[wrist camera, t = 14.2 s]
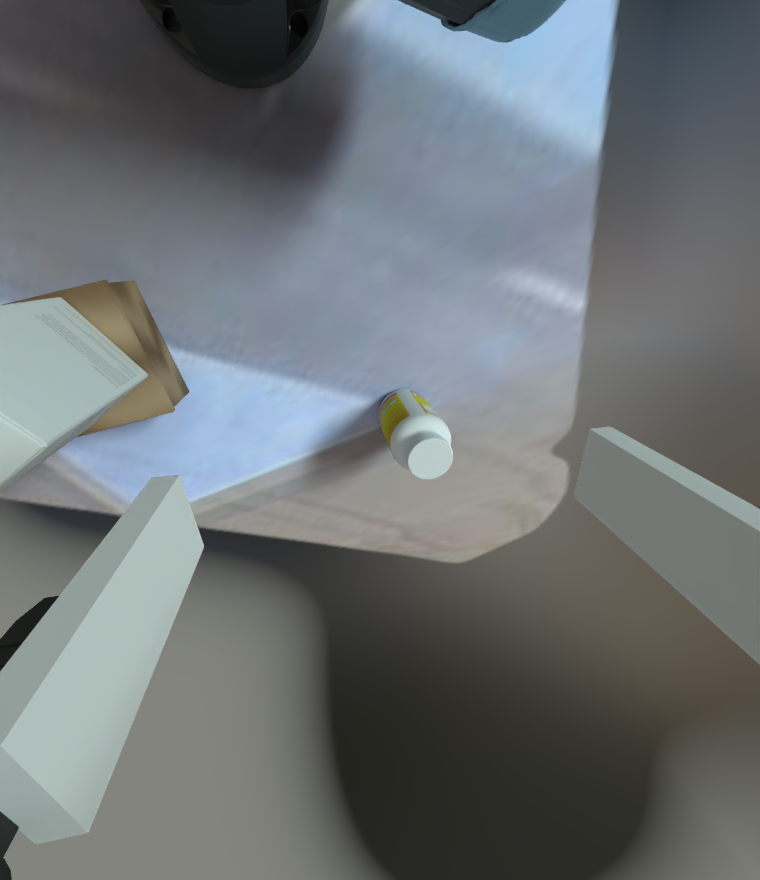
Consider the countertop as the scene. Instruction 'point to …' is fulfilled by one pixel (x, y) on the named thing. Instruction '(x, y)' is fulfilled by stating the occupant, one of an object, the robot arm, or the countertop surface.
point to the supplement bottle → (415, 434)
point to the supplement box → (53, 381)
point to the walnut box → (128, 348)
